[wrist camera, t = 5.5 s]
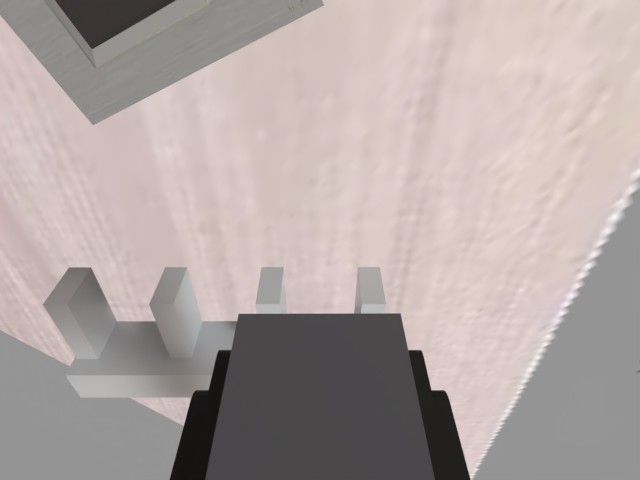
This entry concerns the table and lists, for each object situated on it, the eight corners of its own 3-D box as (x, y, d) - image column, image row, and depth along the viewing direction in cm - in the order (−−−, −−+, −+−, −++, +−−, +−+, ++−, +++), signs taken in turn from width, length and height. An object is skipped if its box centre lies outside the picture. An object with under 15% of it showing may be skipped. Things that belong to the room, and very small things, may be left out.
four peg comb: (66, 267, 29) (22, 328, 25) (382, 266, 29) (393, 328, 25) (107, 344, 35) (77, 405, 31) (372, 344, 35) (380, 405, 31)
